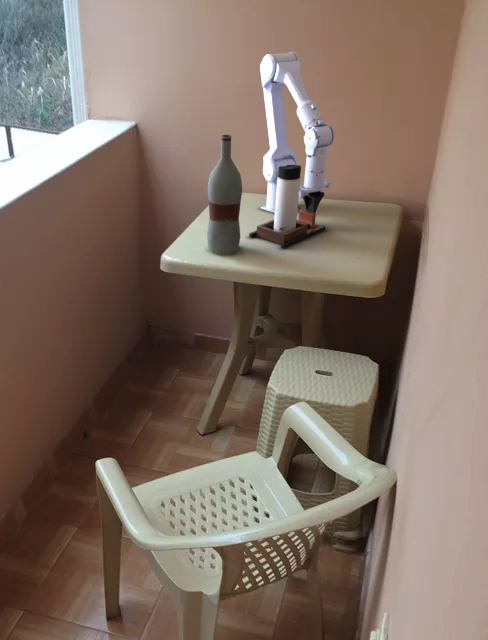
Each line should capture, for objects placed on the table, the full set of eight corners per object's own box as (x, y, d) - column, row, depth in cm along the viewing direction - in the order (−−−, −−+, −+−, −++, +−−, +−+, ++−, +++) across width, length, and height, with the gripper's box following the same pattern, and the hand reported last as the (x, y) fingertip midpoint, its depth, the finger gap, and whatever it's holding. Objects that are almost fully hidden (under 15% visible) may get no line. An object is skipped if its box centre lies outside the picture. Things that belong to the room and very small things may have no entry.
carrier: (294, 220, 200) (295, 207, 198) (321, 228, 194) (323, 215, 192) (256, 236, 189) (257, 222, 187) (283, 245, 184) (285, 231, 181)
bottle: (231, 258, 177) (235, 142, 159) (201, 252, 180) (201, 138, 163) (245, 246, 183) (250, 133, 166) (215, 241, 187) (217, 130, 170)
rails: (291, 219, 201) (291, 215, 200) (325, 230, 194) (325, 226, 193) (249, 237, 189) (249, 233, 189) (283, 248, 182) (284, 244, 181)
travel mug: (282, 240, 187) (288, 169, 175) (269, 233, 191) (273, 163, 180) (300, 236, 189) (307, 166, 178) (286, 229, 194) (292, 160, 182)
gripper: (312, 178, 182) (307, 225, 190) (341, 167, 191) (335, 213, 198) (291, 173, 186) (287, 220, 194) (321, 162, 195) (316, 208, 202)
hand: (310, 216), depth 196 cm, fingers closed
